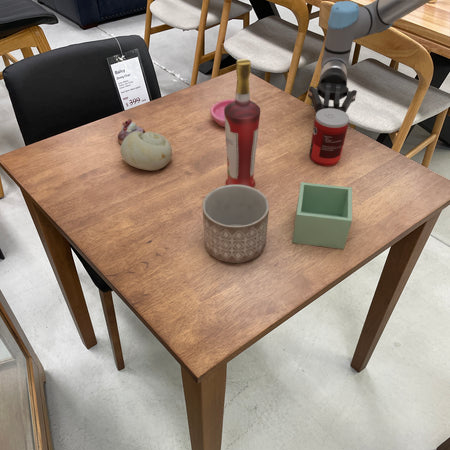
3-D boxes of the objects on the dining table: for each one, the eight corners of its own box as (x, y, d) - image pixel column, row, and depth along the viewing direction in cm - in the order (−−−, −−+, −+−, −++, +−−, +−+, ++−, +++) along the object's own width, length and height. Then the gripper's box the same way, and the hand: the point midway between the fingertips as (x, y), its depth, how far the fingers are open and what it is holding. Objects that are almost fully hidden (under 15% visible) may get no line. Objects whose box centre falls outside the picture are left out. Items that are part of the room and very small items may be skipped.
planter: (203, 225, 94) (201, 185, 86) (261, 222, 95) (264, 182, 87) (206, 268, 86) (203, 228, 78) (269, 264, 87) (273, 225, 79)
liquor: (221, 180, 104) (219, 56, 83) (250, 175, 106) (256, 52, 84) (229, 199, 100) (229, 73, 78) (259, 194, 101) (268, 68, 79)
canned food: (321, 145, 114) (328, 104, 105) (346, 158, 110) (356, 116, 102) (302, 157, 110) (308, 115, 102) (327, 170, 107) (336, 128, 98)
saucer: (243, 105, 127) (243, 95, 125) (262, 126, 120) (263, 115, 117) (203, 114, 124) (203, 103, 121) (221, 136, 117) (221, 125, 114)
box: (343, 249, 90) (351, 220, 84) (292, 242, 91) (296, 214, 85) (344, 216, 96) (352, 187, 90) (296, 210, 97) (300, 181, 92)
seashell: (169, 123, 107) (165, 141, 100) (175, 154, 112) (172, 173, 105) (118, 129, 108) (111, 146, 100) (126, 159, 113) (120, 178, 106)
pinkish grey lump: (127, 129, 119) (124, 112, 115) (152, 135, 117) (149, 117, 114) (112, 144, 114) (108, 127, 111) (137, 150, 113) (134, 132, 109)
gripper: (353, 96, 124) (353, 141, 110) (307, 92, 126) (300, 135, 111) (360, 69, 118) (360, 112, 104) (311, 65, 120) (304, 107, 106)
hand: (329, 124), depth 108 cm, fingers closed
